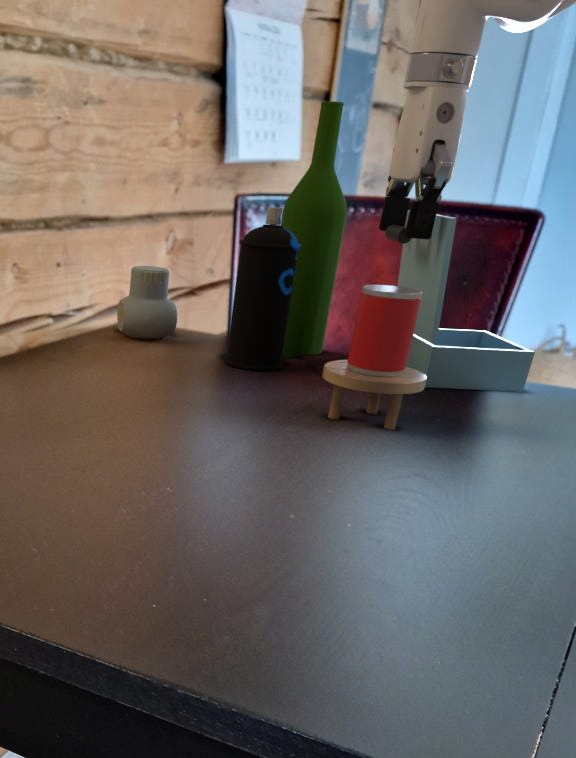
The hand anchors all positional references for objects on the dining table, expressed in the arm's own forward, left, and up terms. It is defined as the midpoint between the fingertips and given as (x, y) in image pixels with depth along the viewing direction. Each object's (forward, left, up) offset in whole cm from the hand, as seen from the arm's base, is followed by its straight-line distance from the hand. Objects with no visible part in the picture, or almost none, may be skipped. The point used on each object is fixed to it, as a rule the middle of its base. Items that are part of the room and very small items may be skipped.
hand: (403, 234), depth 110 cm
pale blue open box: (-11, 0, -18) cm, 21 cm away
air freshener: (+30, -21, -18) cm, 41 cm away
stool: (+9, +25, -18) cm, 32 cm away
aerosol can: (+16, -4, -18) cm, 25 cm away
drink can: (+9, +25, -12) cm, 29 cm away
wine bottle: (+8, -14, -18) cm, 25 cm away
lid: (-4, 0, -5) cm, 6 cm away
